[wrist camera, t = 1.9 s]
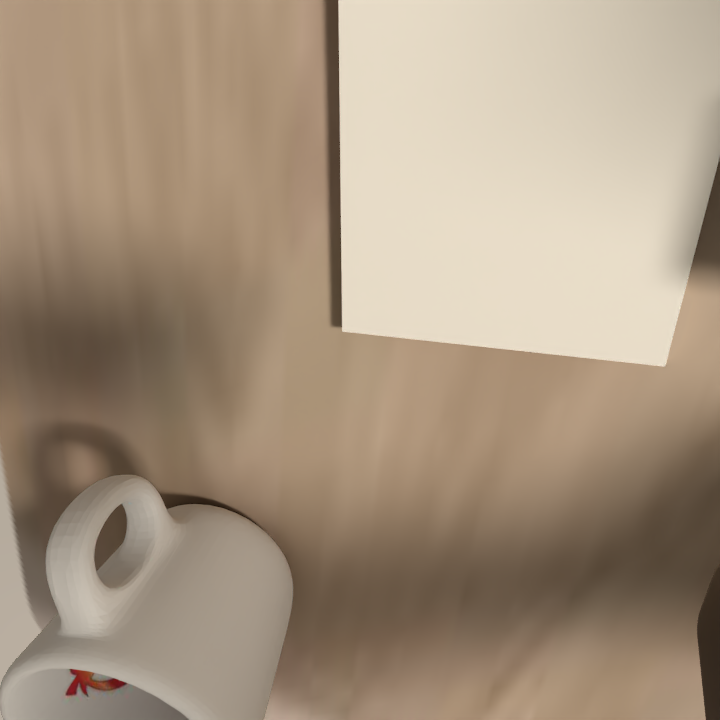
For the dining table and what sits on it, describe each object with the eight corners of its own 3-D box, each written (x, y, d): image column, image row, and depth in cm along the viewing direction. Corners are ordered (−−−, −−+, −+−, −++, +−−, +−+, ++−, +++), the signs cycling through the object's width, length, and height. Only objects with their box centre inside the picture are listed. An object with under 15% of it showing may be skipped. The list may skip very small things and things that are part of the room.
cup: (67, 420, 25) (-105, 584, 19) (261, 402, 23) (144, 584, 16) (171, 624, 30) (63, 814, 23) (341, 627, 28) (276, 841, 21)
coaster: (757, -14, 14) (764, -13, 14) (662, 357, 19) (665, 366, 18) (343, -17, 16) (337, -16, 16) (346, 324, 21) (342, 331, 20)
